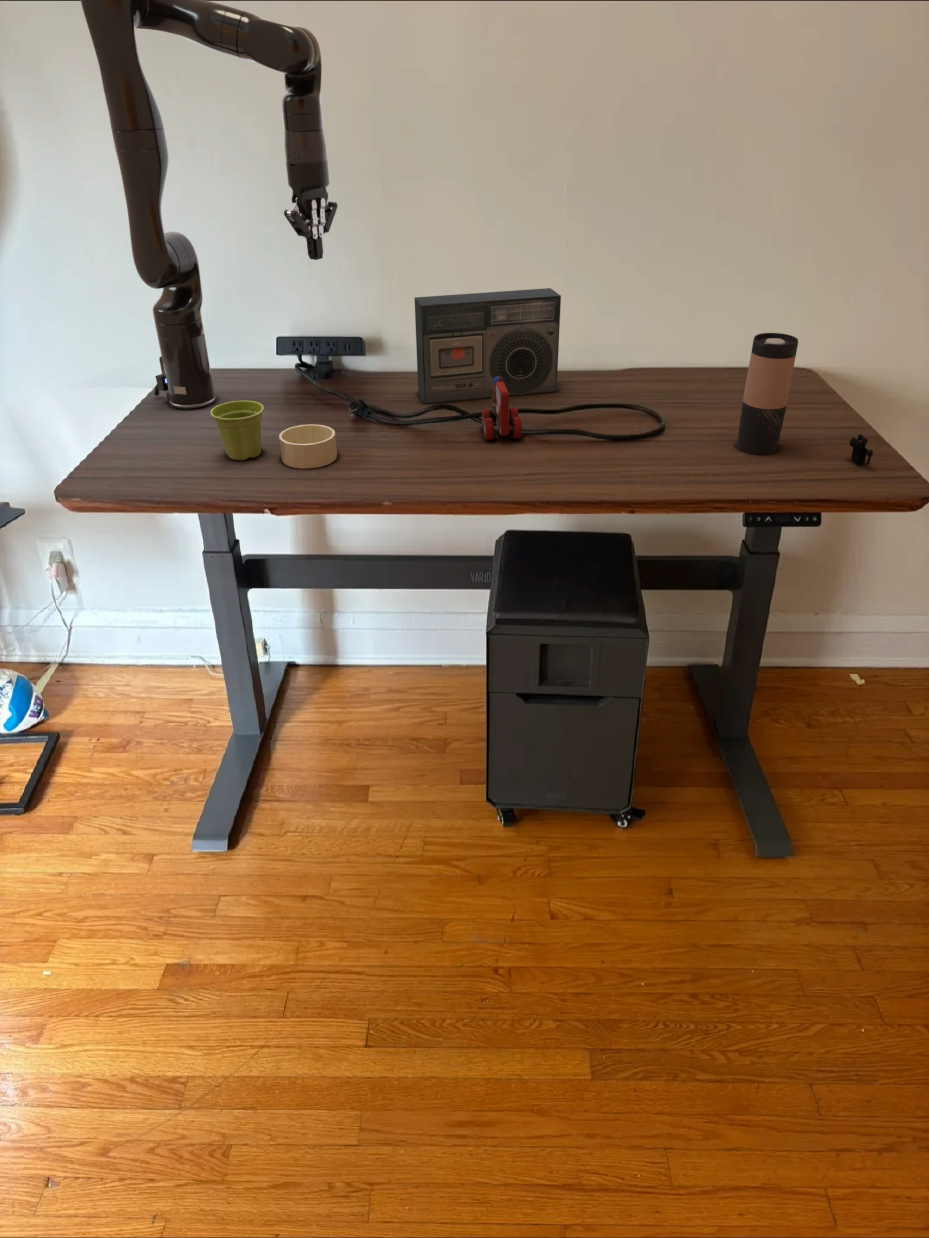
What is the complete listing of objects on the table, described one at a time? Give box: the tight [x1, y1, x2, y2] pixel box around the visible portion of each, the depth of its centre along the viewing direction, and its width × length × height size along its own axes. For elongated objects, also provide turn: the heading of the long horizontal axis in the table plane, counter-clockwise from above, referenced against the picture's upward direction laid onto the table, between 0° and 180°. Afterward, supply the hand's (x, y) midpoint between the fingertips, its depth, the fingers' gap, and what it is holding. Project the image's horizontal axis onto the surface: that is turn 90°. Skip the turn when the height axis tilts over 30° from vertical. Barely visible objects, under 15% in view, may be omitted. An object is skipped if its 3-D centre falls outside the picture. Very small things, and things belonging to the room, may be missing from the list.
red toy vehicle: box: [481, 376, 523, 441], centre depth 171 cm, size 7×12×10 cm, turn 4°
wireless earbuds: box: [849, 433, 874, 466], centre depth 158 cm, size 7×2×5 cm, turn 8°
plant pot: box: [209, 400, 265, 461], centre depth 164 cm, size 9×9×9 cm
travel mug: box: [736, 332, 799, 455], centre depth 161 cm, size 8×8×20 cm
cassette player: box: [414, 287, 562, 405], centre depth 188 cm, size 29×7×20 cm, turn 104°
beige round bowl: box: [278, 423, 338, 470], centre depth 163 cm, size 10×10×4 cm
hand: (316, 259), depth 172 cm, fingers closed
